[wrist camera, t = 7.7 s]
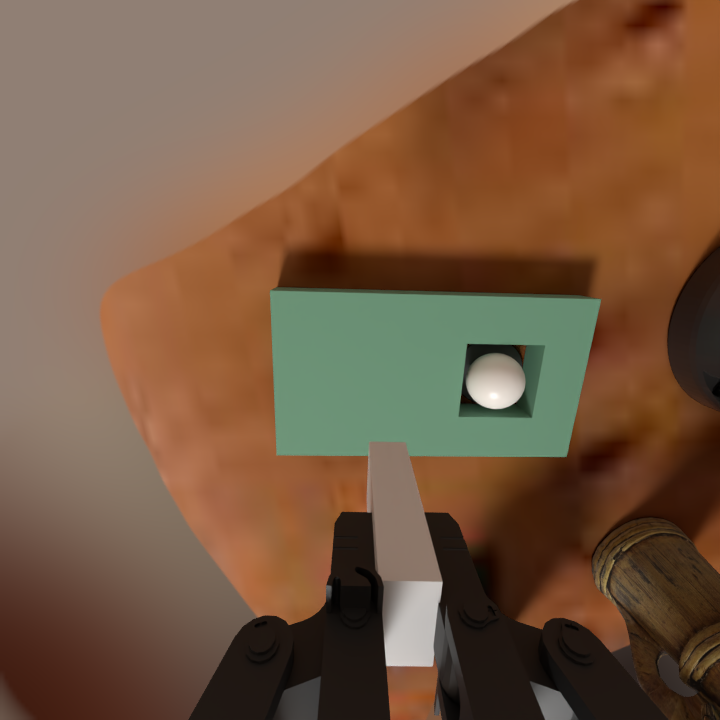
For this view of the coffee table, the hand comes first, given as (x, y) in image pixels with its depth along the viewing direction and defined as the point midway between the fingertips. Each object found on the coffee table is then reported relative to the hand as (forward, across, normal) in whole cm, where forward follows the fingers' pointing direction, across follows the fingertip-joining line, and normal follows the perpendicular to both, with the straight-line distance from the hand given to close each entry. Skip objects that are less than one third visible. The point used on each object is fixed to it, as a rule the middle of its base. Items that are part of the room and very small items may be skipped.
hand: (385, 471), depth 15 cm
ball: (+11, -9, 0) cm, 14 cm away
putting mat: (+13, -4, 0) cm, 14 cm away
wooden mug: (+14, -24, +19) cm, 34 cm away
